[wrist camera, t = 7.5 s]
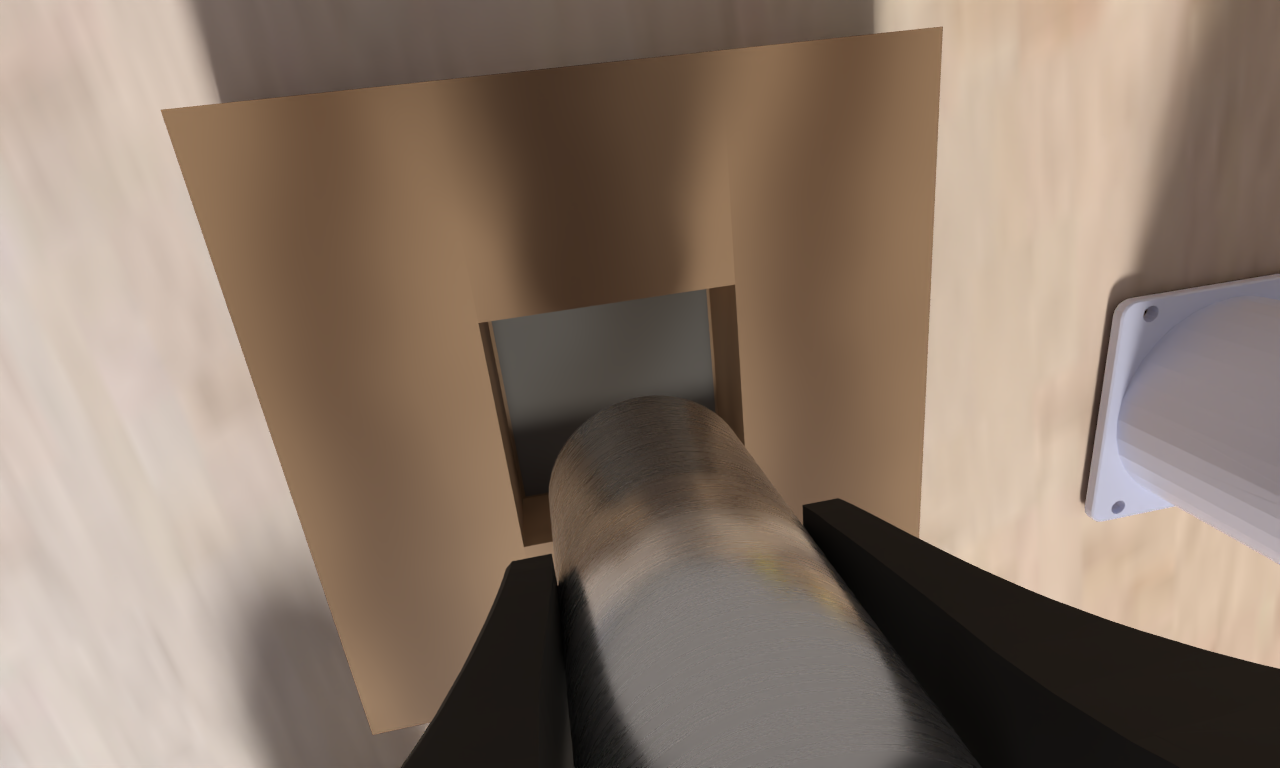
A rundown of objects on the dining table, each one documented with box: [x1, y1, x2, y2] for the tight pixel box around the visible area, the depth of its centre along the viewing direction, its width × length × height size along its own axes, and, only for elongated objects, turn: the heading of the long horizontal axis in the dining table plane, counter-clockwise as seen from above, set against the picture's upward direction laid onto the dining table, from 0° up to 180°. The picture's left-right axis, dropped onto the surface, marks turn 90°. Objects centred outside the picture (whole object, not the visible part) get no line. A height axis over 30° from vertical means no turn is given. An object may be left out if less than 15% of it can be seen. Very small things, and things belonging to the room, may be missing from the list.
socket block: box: [161, 27, 943, 735], centre depth 18 cm, size 16×16×3 cm
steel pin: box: [549, 395, 982, 768], centre depth 10 cm, size 4×4×8 cm
